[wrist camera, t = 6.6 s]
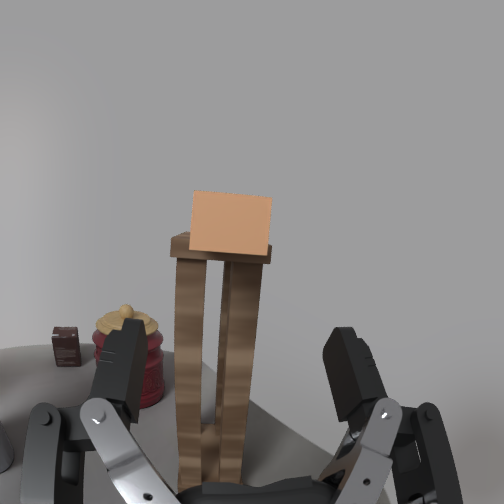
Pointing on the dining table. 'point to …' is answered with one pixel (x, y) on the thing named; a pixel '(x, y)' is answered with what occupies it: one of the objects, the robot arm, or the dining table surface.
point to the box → (66, 346)
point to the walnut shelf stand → (229, 361)
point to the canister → (154, 363)
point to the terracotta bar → (230, 223)
